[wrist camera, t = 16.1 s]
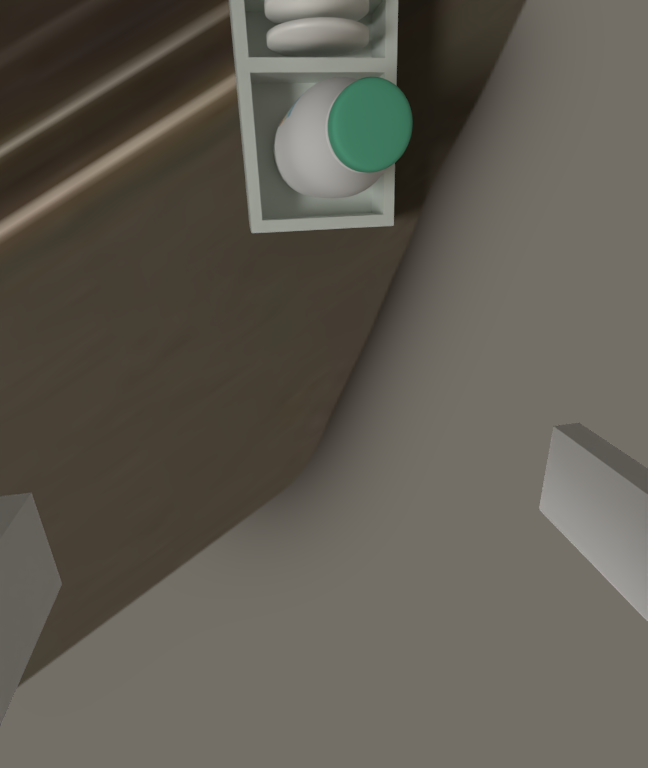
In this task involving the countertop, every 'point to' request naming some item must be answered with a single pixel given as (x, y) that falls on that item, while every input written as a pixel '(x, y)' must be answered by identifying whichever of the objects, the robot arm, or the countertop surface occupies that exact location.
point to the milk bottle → (342, 136)
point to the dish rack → (292, 79)
